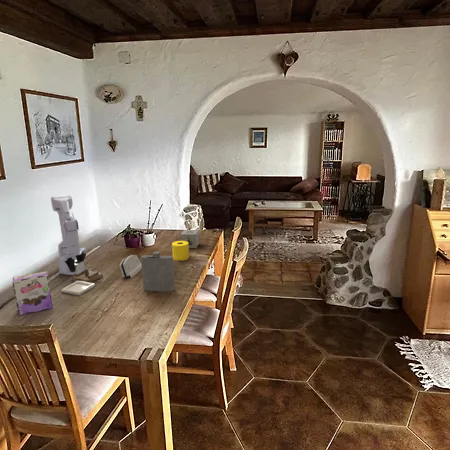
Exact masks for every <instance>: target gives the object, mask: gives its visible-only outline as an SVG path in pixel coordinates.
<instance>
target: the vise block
mask: <svg viewBox="0 0 450 450" xmlns="http://www.w3.org/2000/svg"><path fill="white" fill-rule="evenodd" d="M84 269H85V271H83V272H81V273H79V274H74V275H72V276H71V282H72V281H73V282H76V281H83V282H89V283H94V282H95V281H98V280H99V279H101V278H102V277H104V276H103V272H99V271H91V270H89V268H86V267H85V268H84Z"/></svg>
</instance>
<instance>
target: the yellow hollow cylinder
mask: <svg viewBox="0 0 450 450" xmlns="http://www.w3.org/2000/svg"><path fill="white" fill-rule="evenodd" d="M171 248H172V249H171V250H172V251H171V252H172V256H173V261H179V260H181V261H186V260H188V259H189V258H190V252H189V250H190V249H189V246H188V242H187V241H181V240H177V241H173V242H172V243H171ZM179 262H180V261H179Z"/></svg>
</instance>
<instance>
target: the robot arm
mask: <svg viewBox="0 0 450 450" xmlns="http://www.w3.org/2000/svg"><path fill="white" fill-rule="evenodd" d="M50 202H51V207H52V210H53V212H56V213H57V214H58V219H59V226H60V233H61V238H62V240H61V242H59V244H58V245H57V247H58V248H57V249H58V250H57V251H58V256H59V259H58V267H59V268H58V269H59V271H58V274H60V275H61V274H63V275H67V276H74V274H72V273H69V270H70V272H75V267H74V263H75V260H78V261H85V258H86V256H87V254H86V253H87V252H88V251H87V247H81V246H80V238H79V231H80V230H79V222H78V220H77V218H75V216H74V212H73V211H72V210H71V209H72V208H73V198H72V195H71V194H68V195H57V196H51V197H50Z"/></svg>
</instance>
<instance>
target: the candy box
mask: <svg viewBox="0 0 450 450" xmlns="http://www.w3.org/2000/svg"><path fill="white" fill-rule="evenodd" d="M12 287H13V291H14V292H13V293H14V299H15V304H16V305H15V306H16V310H17V315H18V316H23V314H24V315H28V314H32V313H36V312H42V311H47V310H52V309H53V300H52V293H51V286H50V280H49V273H48V271H42V272H35V273H29V274H25V275H24V274H23V275H17V276H12Z"/></svg>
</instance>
